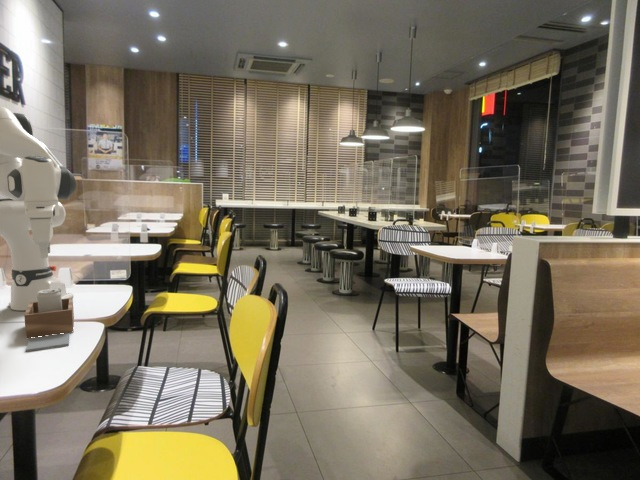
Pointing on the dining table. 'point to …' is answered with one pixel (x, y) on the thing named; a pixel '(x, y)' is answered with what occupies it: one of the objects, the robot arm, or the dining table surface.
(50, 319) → the box
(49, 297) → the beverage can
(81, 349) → the dining table surface
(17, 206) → the robot arm
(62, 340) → the mat
